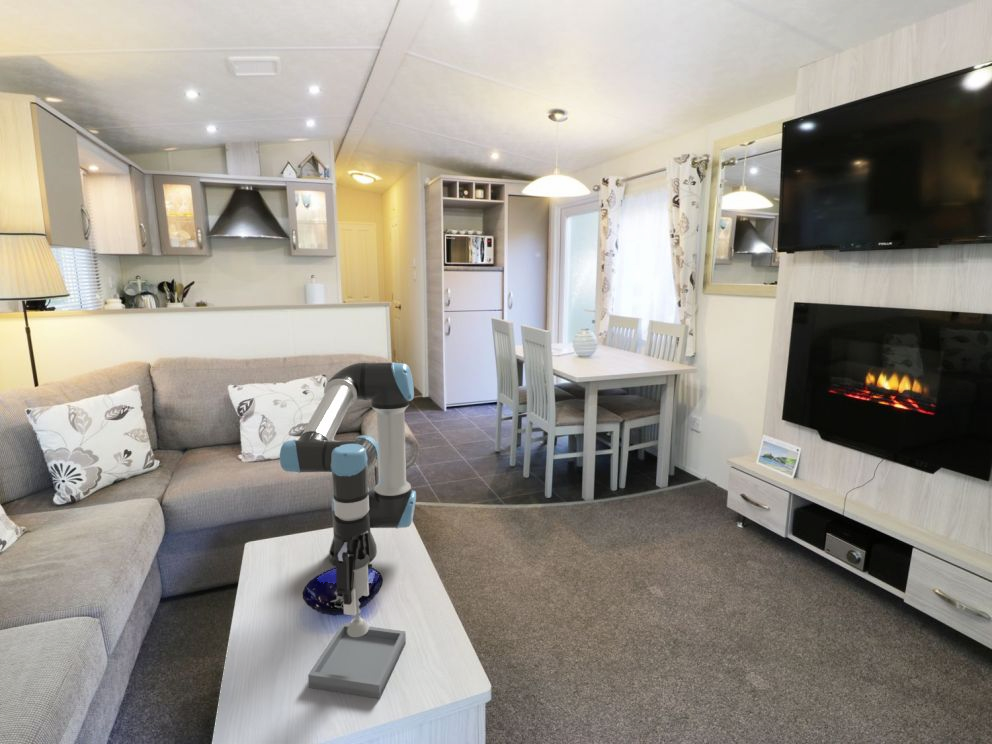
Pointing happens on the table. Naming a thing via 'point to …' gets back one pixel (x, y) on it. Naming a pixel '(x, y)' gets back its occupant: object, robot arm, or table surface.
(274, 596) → the table surface
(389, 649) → the tray
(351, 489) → the robot arm
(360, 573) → the chalice
